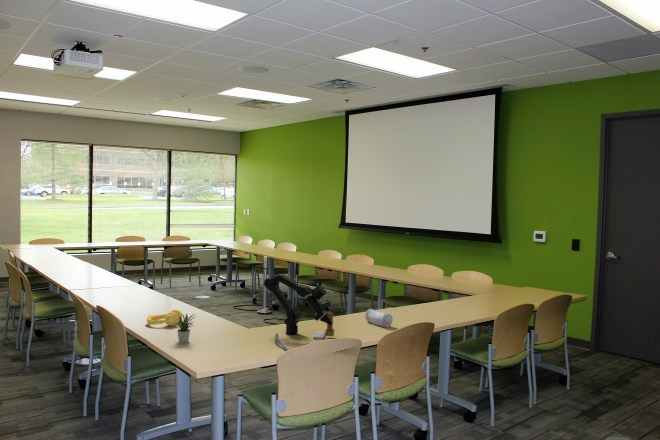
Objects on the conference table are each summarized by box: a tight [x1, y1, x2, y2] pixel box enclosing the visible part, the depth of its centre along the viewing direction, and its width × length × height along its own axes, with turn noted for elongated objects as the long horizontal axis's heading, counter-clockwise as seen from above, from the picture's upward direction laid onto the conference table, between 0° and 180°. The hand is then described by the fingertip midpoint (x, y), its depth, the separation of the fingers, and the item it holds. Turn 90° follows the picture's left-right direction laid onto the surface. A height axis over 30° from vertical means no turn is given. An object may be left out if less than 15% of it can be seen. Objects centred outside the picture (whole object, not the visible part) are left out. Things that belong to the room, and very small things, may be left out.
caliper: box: [274, 333, 291, 352], centre depth 284 cm, size 20×1×6 cm, turn 28°
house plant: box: [173, 313, 196, 343], centre depth 293 cm, size 14×14×16 cm
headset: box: [146, 309, 184, 327], centre depth 333 cm, size 18×21×9 cm
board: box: [312, 331, 325, 340], centre depth 310 cm, size 6×13×1 cm, turn 175°
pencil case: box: [364, 308, 393, 328], centre depth 345 cm, size 21×9×10 cm, turn 31°
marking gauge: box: [324, 312, 335, 337], centre depth 306 cm, size 5×6×13 cm
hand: (332, 324), depth 306 cm, fingers closed on marking gauge, 3 cm apart
